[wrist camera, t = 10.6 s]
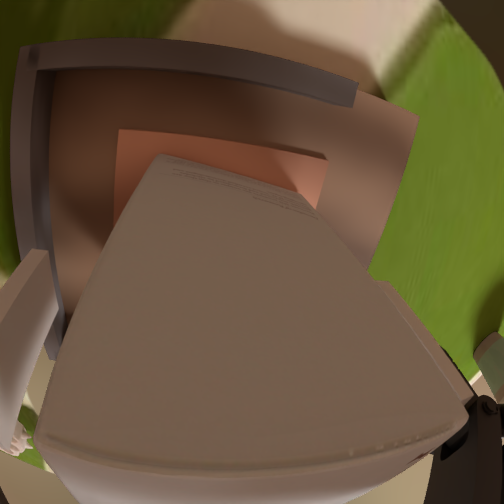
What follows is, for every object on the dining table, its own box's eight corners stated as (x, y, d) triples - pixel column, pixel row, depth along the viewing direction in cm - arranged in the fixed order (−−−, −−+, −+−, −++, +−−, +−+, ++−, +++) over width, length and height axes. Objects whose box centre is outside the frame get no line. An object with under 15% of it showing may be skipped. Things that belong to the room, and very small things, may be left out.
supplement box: (156, 147, 12) (10, 434, 2) (304, 192, 15) (484, 417, 4) (127, 281, 16) (87, 523, 5) (252, 307, 18) (312, 523, 7)
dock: (314, 329, 25) (334, 374, 20) (68, 311, 20) (49, 359, 15) (391, 110, 16) (442, 122, 12) (64, 54, 11) (20, 46, 7)
